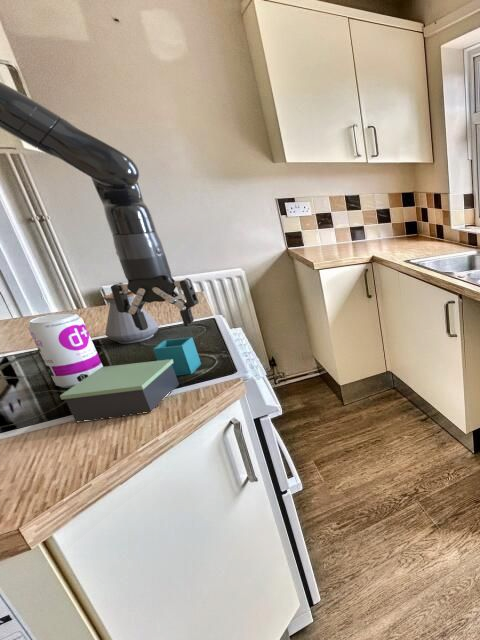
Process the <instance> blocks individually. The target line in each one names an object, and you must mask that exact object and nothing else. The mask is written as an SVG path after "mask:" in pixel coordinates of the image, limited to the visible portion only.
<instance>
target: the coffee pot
mask: <svg viewBox="0 0 480 640" xmlns="http://www.w3.org/2000/svg"><path fill="white" fill-rule="evenodd" d="M127 297H128V300H129V304H130V306H131V305H132V301H133V300H134V298H135V294H134V293H132V292H131V291H128V293H127ZM101 299H103V300H104V301H106V302H107V303H108V304H109V308H108V314H107V321H106V326H105V327H106V328H105V332H104V334H105V336H106V337H107V338H108V339H110V340H111V341H114V342H118V344H122V345H123V344H134V343H139V342H143V341H146V340H149V339H151V338H153V337H154V336H155V334H156V333H157V332H158V330H159V326H160V324H159V322H158V321H156V320H155V318H154V317H153V316H152V315H150V314H149V313H148V311H147V310H145V309H144V307H142V309H141V312H143V313H144V316H145V319H146V321H147V324H148V328H147V329H146V330H139V328H137V327H136V326H135V323H134V321H133V318H132V316H131V314H129V313H125V312H123V313H120V312H118V310H117V307H116V304H115V300H114V297H113V294H112V293H110V294H106V295H104V296H103V297H101Z"/></svg>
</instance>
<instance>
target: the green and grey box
mask: <svg viewBox="0 0 480 640" xmlns="http://www.w3.org/2000/svg"><path fill="white" fill-rule="evenodd" d="M172 363H174V362H173V359H169V360H160V361H157V360H152V361H143V362H136V363H135V362H134V363H125V364H118V365H117V364H116V365H107V366H103V367H101V368H100V369H98V370H97V371H95V372H94V373H93V374H91V375H90V376H88V377H87V378H85V379H84V380H82V381H81V382H79V383H78V384H76V385H75V386H73V387H71V388H68V389H67V390H66V391H65V392H63V393H62V394H60V395H59V398H60V400H65V403H66V404H67V406H68V408H69V411H70V413H71V415H72V417H73V419H74V421H75V423H76V422H77V421H84V420H94V419H101V418H109V417H117V418H119V417H118V416H123V415H130V414H137V413H143V412H151V411H152V410H153V409H154V408H155V407H156V406H157V405H158V404H159V403H160V402H161V401H162V399H163V398H164V397H165V396H166V395H167V394H168V393H169V392H171V391H172V390H173V389H175V390H176V389H177V388H178V387H179V386H180V383H179V380H178V378H177V376H176V375H175V372H174V369H173V366H172ZM109 419H110V418H109Z"/></svg>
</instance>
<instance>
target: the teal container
mask: <svg viewBox="0 0 480 640" xmlns="http://www.w3.org/2000/svg"><path fill="white" fill-rule="evenodd" d="M196 347H197V346H196V344H195V341H194V338H193V337H191V336H190V337H182V338H172V339H171V338H170V339H164V340H162V341H161V342H160V343H159V344H158V345H156V346H155V347H154V348H152V351H153V353H154V356H155V358H156V361H160V360H169V359H173V362H174V363H172V366H173V369H174V372H175V375H176V377H177V376H185V375H192V374H193V373H194V372H195V371H196V370H198V368H200V366H202V362H201V359H200V356H199V353H198V349H197V348H196Z"/></svg>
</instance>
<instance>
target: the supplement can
mask: <svg viewBox="0 0 480 640" xmlns="http://www.w3.org/2000/svg"><path fill="white" fill-rule="evenodd" d="M28 332H29V333H30V337H32V340H33V342H34V344H35V346H36V347H37V350H38V352H39V354H40V356H41V358H42V360H43V362H44V365H45V367H46V368H47V370H48V373H49V375H50V376H51V378H52V381H53V382H54V385H55V386H58V387H60V388H63V389H70V388H72V387H73V386H75V385H76V384H78V383H79V382H81V381H82V380H84V379H85V378H87V377H88V376H90V375H91V374H93V373H94V372H95V371H97V370H98V369H100V368H101V367H104V365H103V363H102V361H101V358H100V356H99V354H98V351H97V349H96V347H95V344H94V342H93V340H92V338H91V336H90V332H89V331H88V328H87V325H86V324H85V322H84V320H83V318H82V317H81V316H79V315H78V314H77V313H76V312H73V311H68V312H67V311H65V312H57V313H51V314H46V315H41V316H38V317H35V318H32V319H31V320H29V325H28Z"/></svg>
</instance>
